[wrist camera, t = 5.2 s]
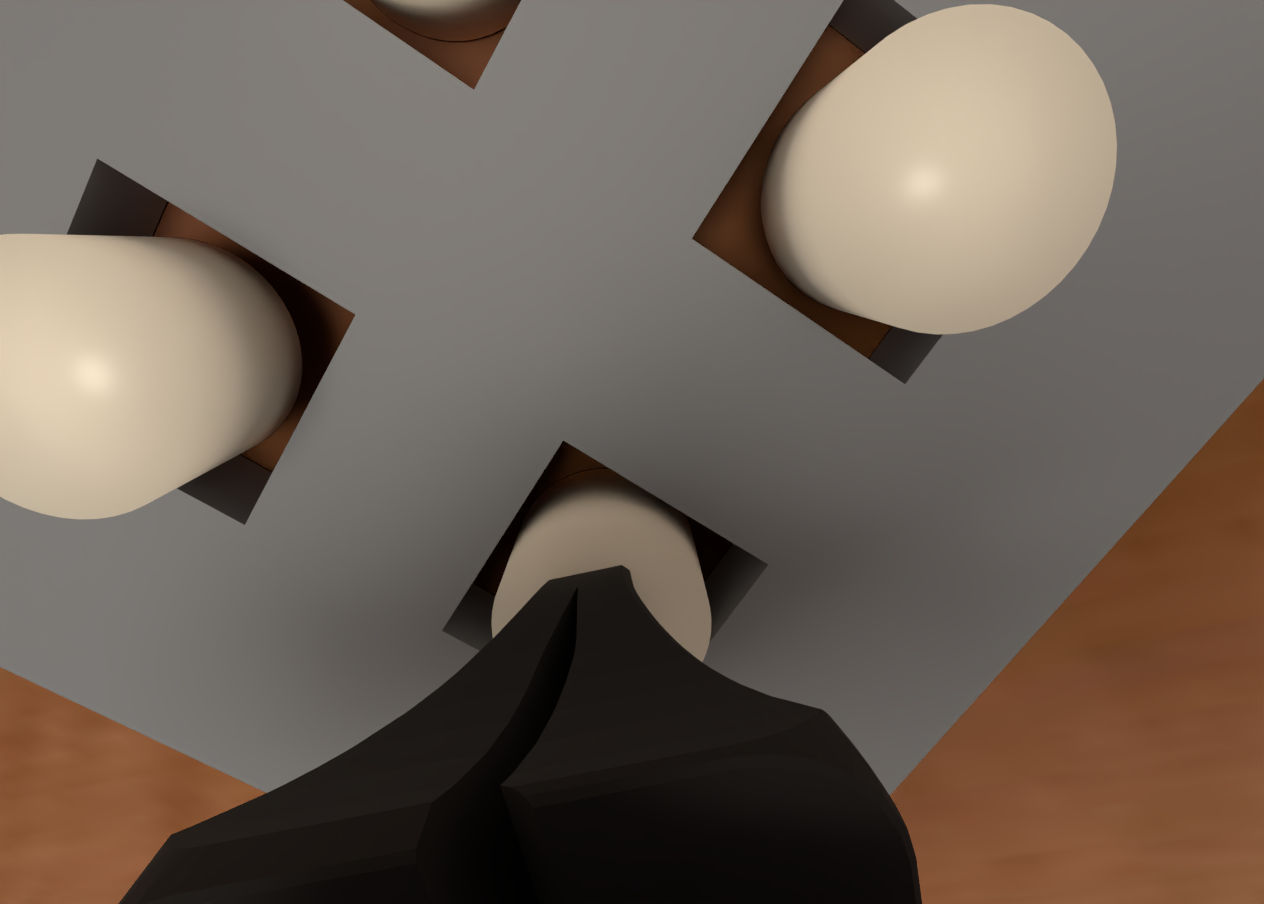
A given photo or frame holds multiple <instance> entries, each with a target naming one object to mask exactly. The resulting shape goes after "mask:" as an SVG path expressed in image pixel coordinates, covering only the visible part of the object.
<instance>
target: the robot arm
mask: <svg viewBox="0 0 1264 904" xmlns="http://www.w3.org/2000/svg"><path fill="white" fill-rule="evenodd" d="M119 904H922V900H921V892H920V884H919V877H918V869H917V861H916V856H915V853H914V849H913V845H912V842H911V839H910V836H909V833H908V830H907V827H906V825H905V823H904V821H903V819H902V817H901V815H900V813H899V811H898V809H897V807H896V805H895V804H894V802H893V800H892V799H891V797H890V796H889V794H888V792H887V791H886V789H885V788H884V786H883V785H882V783H881V782H880V780H879V779H878V777H877V776H876V774H875V773H874V771H873V770H872V768H871V767H870V766H869V764H868V763H867V762H866V760H865V759H864V758H863V756H862V755H861V753H860V752H859V751H858V749H857V748H856V747H855V745H854V744H853V743H852V742H851V741H850V739H849V738H848V737H847V736H846V734H845V733H844V732H843V731H842V730H841V728H840V727H839V726H838V725H837V723H836V722H835V721H834V720H833V719H832V718H831V717H830V715H829V714H828V713H826V712H825V711H824V710H822V709H819V708H815V707H811V706H807V705H804V704H800V703H796V702H792V701H788V700H784V699H780V698H776V697H773V696H770V695H767V694H764V693H762V692H759V691H757V690H754V689H752V688H749V687H747V686H744V685H741V684H739V683H737V682H735V681H733V680H731V679H729V678H727V677H726V676H724V675H722V674H720V673H718V672H717V671H715V670H713V669H711V668H710V667H709V666H707V665H706V664H704V663H703V662H701V661H700V660H699V659H697V658H696V657H695V656H693V655H692V654H691V653H690V652H688V651H687V650H686V649H685V648H684V647H682V646H681V645H680V644H679V643H678V642H677V641H676V640H675V639H674V638H673V637H672V636H671V635H670V634H669V633H668V632H667V631H666V630H665V629H664V628H663V627H662V626H661V625H660V624H659V622H658V621H657V620H656V619H655V618H654V616H653V615H652V614H651V612H650V611H649V610H648V608H647V607H646V606H645V604H644V603H643V602H642V600H641V599H640V597H639V595H638V594H637V592H636V590H635V588H634V585H633V581H632V577H631V573H630V570H629V569H627V568H626V567H624V566H623V565H619V566H614V567H609V568H604V569H600V570H595V571H590V572H585V573H580V574H576V575H571V576H566V577H561V578H556V579H551V580H549V581H547V582H546V583H545V584H544V585H543V586H542V587H541V588H540V589H539V590H538V591H537V592H536V593H535V594H534V595H533V596H532V598H531V599H530V600H529V601H528V602H527V603H526V604H525V605H524V606H523V607H522V608H521V609H520V611H519V612H518V613H517V614H516V615H515V616H514V617H513V618H512V619H511V620H510V621H509V622H508V623H507V624H506V625H505V626H504V628H503V629H502V630H501V631H500V632H499V633H498V634H497V635H496V636H495V637H494V638H493V639H492V640H491V641H490V642H489V643H488V644H487V645H485V646H484V647H483V648H482V649H481V650H480V651H479V652H478V653H477V654H476V655H475V656H474V657H473V658H472V659H471V660H470V661H469V662H468V663H467V664H466V665H464V666H463V667H462V668H461V669H460V670H459V671H458V672H457V673H456V674H454V675H453V676H452V677H451V678H450V679H449V680H447V681H446V682H445V683H444V684H443V685H441V686H440V687H439V688H438V689H436V690H435V691H434V692H432V693H431V694H430V695H429V696H427V697H426V698H425V699H423V700H422V701H421V702H419V703H418V704H417V705H416V706H414V707H413V708H411V709H410V710H409V711H407V712H406V713H404V714H403V715H401V716H400V717H398V718H397V719H395V720H394V721H392V722H391V723H389V724H388V725H386V726H385V727H383V728H381V729H380V730H378V731H377V732H375V733H374V734H372V735H371V736H369V737H368V738H366V739H365V740H363V741H361V742H360V743H358V744H357V745H355V746H354V747H352V748H350V749H349V750H347V751H345V752H344V753H342V754H340V755H338V756H337V757H335V758H333V759H331V760H329V761H328V762H326V763H324V764H322V765H321V766H319V767H317V768H315V769H313V770H311V771H309V772H307V773H305V774H304V775H302V776H300V777H298V778H296V779H294V780H292V781H290V782H288V783H286V784H284V785H282V786H280V787H278V788H276V789H274V790H272V791H270V792H268V793H266V794H264V795H262V796H260V797H257V798H255V799H253V800H251V801H248V802H246V803H244V804H242V805H239V806H237V807H235V808H233V809H230V810H228V811H226V812H223V813H221V814H219V815H217V816H214V817H212V818H210V819H208V820H205V821H203V822H201V823H199V824H196V825H194V826H192V827H189V828H187V829H184V830H182V831H179V832H177V833H174V834H172V835H171V836H170V837H169V838H168V839H167V841H166V842H165V843H164V845H163V846H162V847H161V849H160V850H159V851H158V853H157V854H156V855H155V856H154V858H153V859H152V860H151V862H150V863H149V864H148V866H147V867H146V868H145V870H144V871H143V872H142V874H141V875H140V876H139V878H138V879H137V880H136V882H135V883H134V884H133V885H132V887H131V888H130V889H129V891H128V892H127V893H126V895H125V896H124V897H123V899H122V900H121V901H120V903H119Z"/></svg>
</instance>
